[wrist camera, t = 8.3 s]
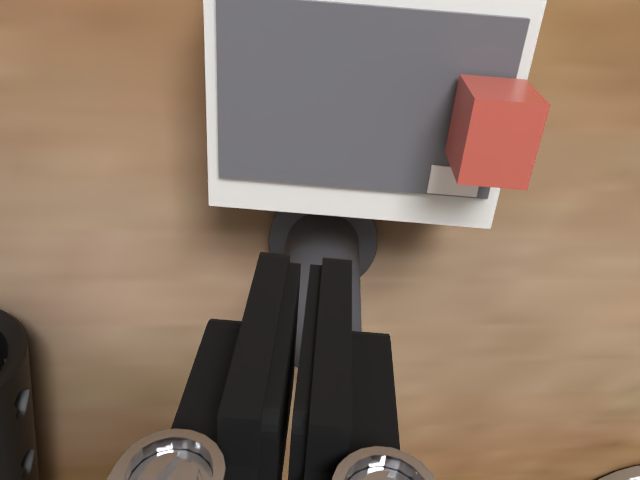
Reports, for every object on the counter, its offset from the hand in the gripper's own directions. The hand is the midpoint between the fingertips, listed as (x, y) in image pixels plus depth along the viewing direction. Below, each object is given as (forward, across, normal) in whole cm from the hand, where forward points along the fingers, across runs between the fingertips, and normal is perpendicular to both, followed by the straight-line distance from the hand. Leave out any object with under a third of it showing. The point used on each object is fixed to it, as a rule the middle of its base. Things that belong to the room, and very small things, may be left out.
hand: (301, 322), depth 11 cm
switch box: (+21, -1, 0) cm, 21 cm away
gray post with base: (+21, 0, +10) cm, 23 cm away
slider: (+13, -6, 0) cm, 14 cm away
